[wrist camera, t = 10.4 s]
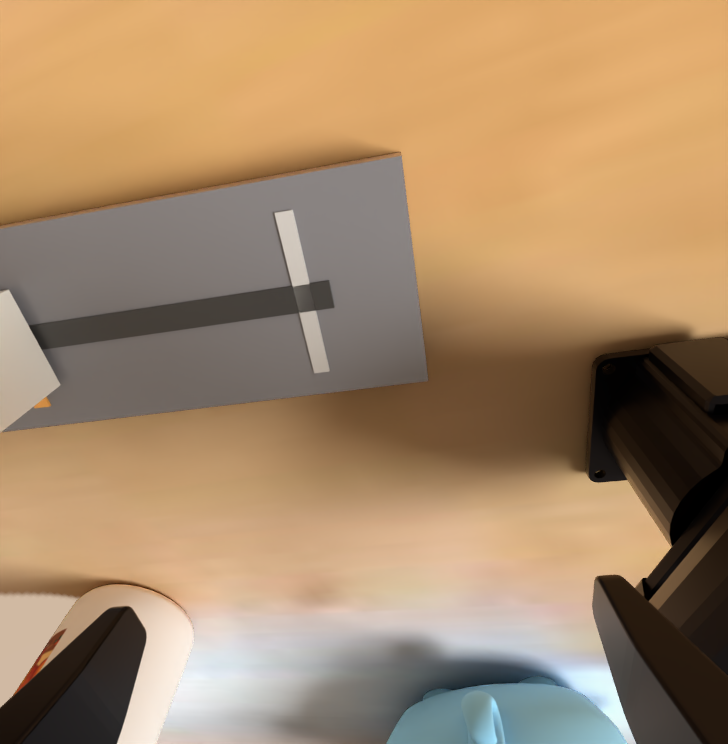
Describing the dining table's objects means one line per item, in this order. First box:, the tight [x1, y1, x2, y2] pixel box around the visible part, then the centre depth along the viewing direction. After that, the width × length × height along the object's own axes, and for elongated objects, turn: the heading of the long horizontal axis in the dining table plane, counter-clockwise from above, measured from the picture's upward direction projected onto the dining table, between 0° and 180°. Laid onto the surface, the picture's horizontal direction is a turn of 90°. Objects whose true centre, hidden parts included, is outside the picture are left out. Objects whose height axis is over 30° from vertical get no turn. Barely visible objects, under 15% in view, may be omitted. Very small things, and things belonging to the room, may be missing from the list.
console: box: [0, 152, 428, 432], centre depth 18 cm, size 8×24×2 cm, turn 100°
